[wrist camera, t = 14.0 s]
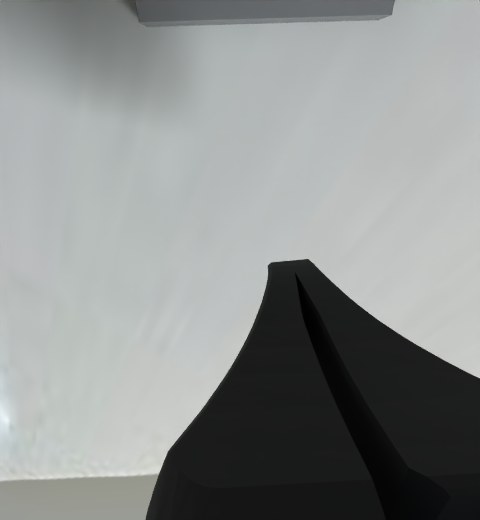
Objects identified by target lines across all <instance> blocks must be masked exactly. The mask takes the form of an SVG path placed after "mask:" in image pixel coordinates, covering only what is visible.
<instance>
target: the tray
mask: <svg viewBox="0 0 480 520" xmlns="http://www.w3.org/2000/svg"><path fill="white" fill-rule="evenodd" d="M135 1H136V7H137V13H138V19H139V22H140V23H141V24H143V25H145V26H147V27H156V26H190V25H225V24H259V23H293V22H328V21H362V20H379V19H382V18H385V17H387V16H390V15H392V11H393V6H394V1H395V0H135Z"/></svg>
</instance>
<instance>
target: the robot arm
mask: <svg viewBox="0 0 480 520" xmlns="http://www.w3.org/2000/svg"><path fill="white" fill-rule="evenodd" d="M146 520H480V378H478V377H476V376H473V375H471V374H469V373H467V372H465V371H463V370H461V369H459V368H458V367H456V366H454V365H452V364H450V363H448V362H446V361H444V360H442V359H441V358H439V357H437V356H435V355H433V354H432V353H430V352H428V351H426V350H425V349H423V348H421V347H419V346H418V345H416V344H414V343H413V342H411V341H409V340H408V339H406V338H404V337H403V336H401V335H400V334H398V333H397V332H395V331H394V330H392V329H391V328H389V327H388V326H386V325H385V324H383V323H382V322H380V321H379V320H377V319H376V318H375V317H373V316H372V315H370V314H369V313H368V312H367V311H365V310H364V309H363V308H361V307H360V306H359V305H358V304H356V303H355V302H354V301H353V300H352V299H350V298H349V297H348V296H347V295H346V294H345V293H344V292H342V291H341V290H340V289H339V288H338V287H337V286H336V285H335V284H334V283H332V282H331V281H330V280H329V279H328V278H327V277H326V276H325V275H324V274H323V273H322V272H321V271H320V270H319V269H318V268H317V267H316V266H315V265H314V264H313V263H312V262H311V261H310V260H309V259H304V260H293V261H283V262H272V263H270V264H269V265H268V280H267V285H266V289H265V293H264V296H263V300H262V303H261V306H260V309H259V311H258V314H257V316H256V319H255V322H254V324H253V326H252V329H251V331H250V333H249V335H248V337H247V339H246V341H245V343H244V345H243V347H242V349H241V351H240V352H239V354H238V356H237V358H236V359H235V361H234V363H233V365H232V366H231V368H230V370H229V371H228V373H227V374H226V376H225V377H224V379H223V380H222V382H221V383H220V385H219V386H218V388H217V389H216V390H215V392H214V393H213V395H212V396H211V398H210V399H209V400H208V402H207V403H206V405H205V406H204V407H203V409H202V410H201V411H200V413H199V414H198V415H197V416H196V418H195V419H194V420H193V421H192V423H191V424H190V425H189V426H188V427H187V429H186V430H185V431H184V432H183V434H182V435H181V436H180V437H179V438H178V440H177V441H176V442H175V443H174V445H173V446H172V447H171V448H170V450H169V451H168V453H167V456H166V458H165V460H164V463H163V466H162V468H161V471H160V473H159V476H158V479H157V482H156V485H155V488H154V491H153V494H152V498H151V501H150V505H149V507H148V511H147V515H146Z"/></svg>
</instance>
